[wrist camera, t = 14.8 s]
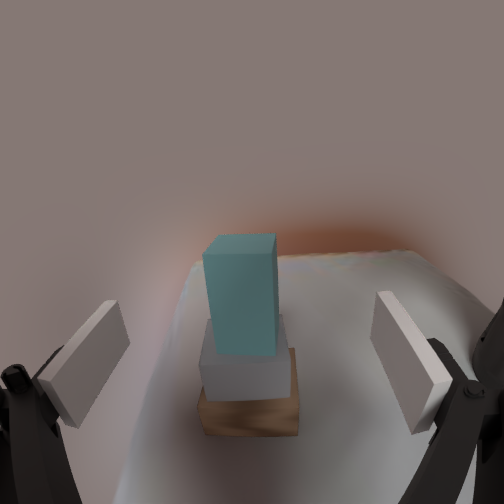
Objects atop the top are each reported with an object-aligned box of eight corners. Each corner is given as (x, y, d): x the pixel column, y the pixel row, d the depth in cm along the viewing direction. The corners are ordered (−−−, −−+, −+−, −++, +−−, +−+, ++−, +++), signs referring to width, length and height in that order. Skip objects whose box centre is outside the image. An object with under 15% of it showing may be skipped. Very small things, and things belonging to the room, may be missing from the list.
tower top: (282, 348, 32) (281, 314, 30) (290, 397, 25) (290, 360, 23) (213, 352, 32) (208, 318, 30) (207, 401, 25) (198, 365, 23)
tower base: (293, 376, 33) (294, 347, 32) (297, 436, 25) (299, 407, 23) (218, 377, 34) (213, 348, 32) (205, 434, 25) (197, 406, 24)
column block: (279, 323, 29) (276, 233, 26) (275, 355, 24) (271, 253, 21) (228, 322, 29) (218, 234, 26) (216, 353, 25) (202, 254, 22)
